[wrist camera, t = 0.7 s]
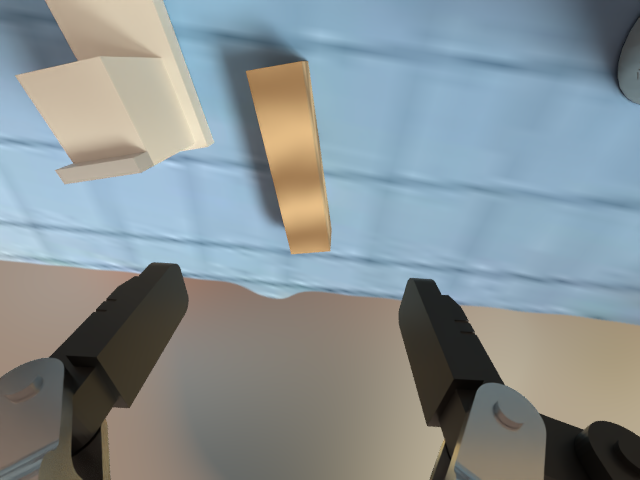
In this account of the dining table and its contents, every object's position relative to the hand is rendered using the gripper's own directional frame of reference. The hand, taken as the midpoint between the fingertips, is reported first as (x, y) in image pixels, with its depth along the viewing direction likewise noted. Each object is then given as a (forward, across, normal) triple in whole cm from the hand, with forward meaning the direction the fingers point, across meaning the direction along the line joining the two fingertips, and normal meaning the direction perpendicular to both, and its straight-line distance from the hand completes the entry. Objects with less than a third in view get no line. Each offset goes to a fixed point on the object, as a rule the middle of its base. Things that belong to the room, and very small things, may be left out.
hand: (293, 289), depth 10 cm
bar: (+20, +1, +1) cm, 20 cm away
